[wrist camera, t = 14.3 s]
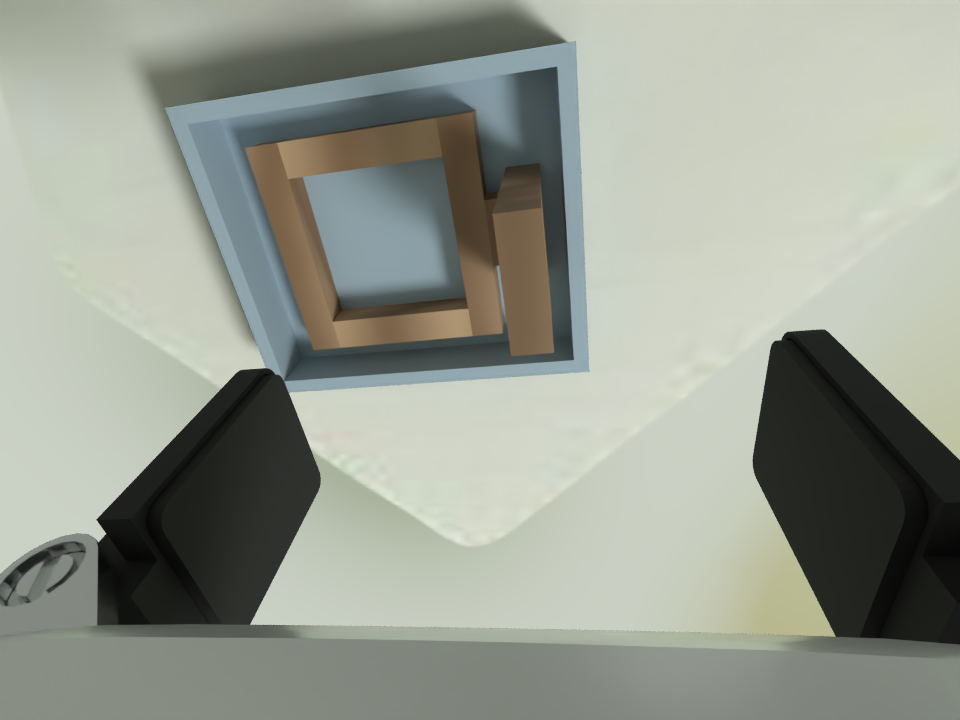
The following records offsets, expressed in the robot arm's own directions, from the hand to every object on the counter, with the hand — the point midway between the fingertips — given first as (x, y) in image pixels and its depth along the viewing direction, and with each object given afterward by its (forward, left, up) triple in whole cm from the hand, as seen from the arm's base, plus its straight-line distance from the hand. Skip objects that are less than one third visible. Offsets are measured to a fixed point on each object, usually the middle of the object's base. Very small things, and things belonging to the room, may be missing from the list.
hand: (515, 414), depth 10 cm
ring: (0, -5, -16) cm, 17 cm away
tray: (0, -6, -17) cm, 18 cm away
